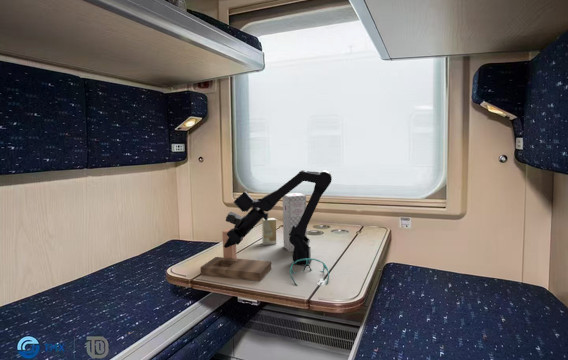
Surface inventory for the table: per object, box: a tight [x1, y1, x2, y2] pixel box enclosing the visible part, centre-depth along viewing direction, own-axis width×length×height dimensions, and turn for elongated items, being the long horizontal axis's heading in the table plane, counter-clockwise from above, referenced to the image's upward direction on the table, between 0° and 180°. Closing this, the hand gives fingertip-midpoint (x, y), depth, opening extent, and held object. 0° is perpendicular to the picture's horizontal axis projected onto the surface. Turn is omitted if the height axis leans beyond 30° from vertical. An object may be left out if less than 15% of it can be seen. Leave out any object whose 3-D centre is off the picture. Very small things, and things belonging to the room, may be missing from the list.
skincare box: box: [261, 217, 277, 246], centre depth 168 cm, size 6×4×12 cm
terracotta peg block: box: [221, 228, 238, 259], centre depth 144 cm, size 4×4×13 cm
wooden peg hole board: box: [199, 256, 272, 282], centre depth 132 cm, size 24×12×3 cm, turn 73°
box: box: [282, 192, 308, 253], centre depth 159 cm, size 8×8×25 cm
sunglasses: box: [289, 257, 330, 287], centre depth 126 cm, size 14×15×5 cm
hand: (226, 245), depth 145 cm, fingers closed on terracotta peg block, 4 cm apart
